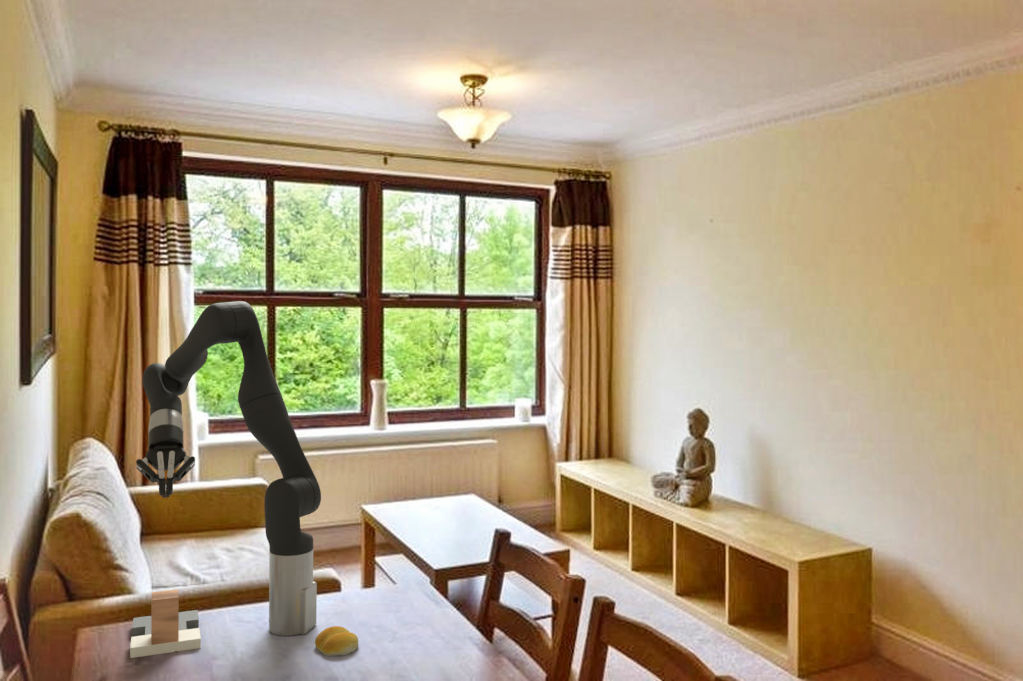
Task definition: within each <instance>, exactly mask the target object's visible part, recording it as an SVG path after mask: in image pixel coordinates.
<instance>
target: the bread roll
mask: <svg viewBox="0 0 1023 681" xmlns="http://www.w3.org/2000/svg"><path fill="white" fill-rule="evenodd" d="M314 645H315V647H316V649H317V650H318V651H319V652H321V653H322V654H323V655H324V656H328V657H341V655H342V656H346V655H349V653H350V654H352V653H354V652H355V651H356V650H357V648H359V637H358V636H357V635H356V633H353V632H351V631H349V630H348V628H347V629H346V628H345V627H343V626H338V625H335V626H334V625H333V626H329V627H327V628H325V629H324V630H322V631H320V633H319V634H318V635H317V636H316V637H315V640H314ZM354 650H355V651H354ZM351 652H352V653H351ZM338 655H340V656H338Z"/></svg>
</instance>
